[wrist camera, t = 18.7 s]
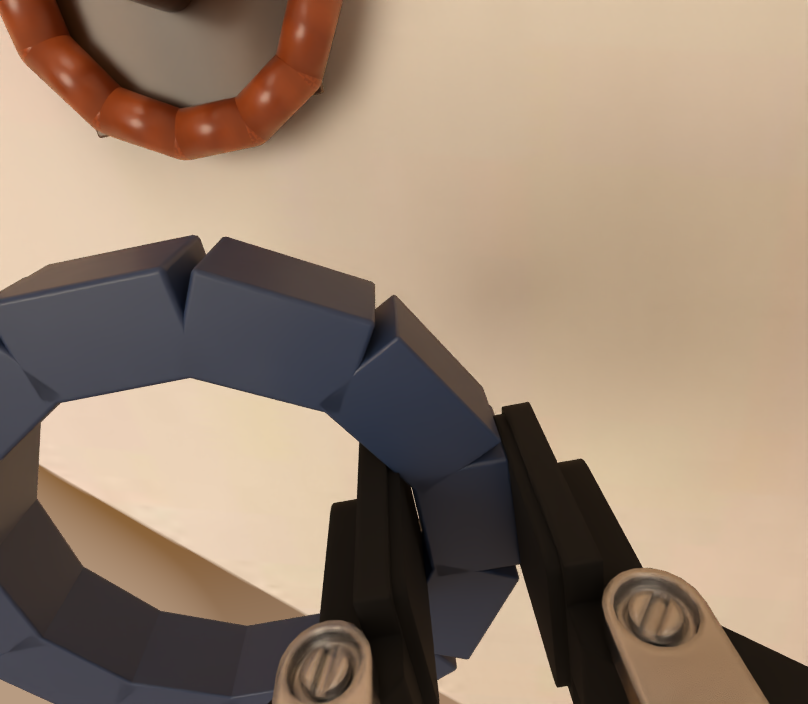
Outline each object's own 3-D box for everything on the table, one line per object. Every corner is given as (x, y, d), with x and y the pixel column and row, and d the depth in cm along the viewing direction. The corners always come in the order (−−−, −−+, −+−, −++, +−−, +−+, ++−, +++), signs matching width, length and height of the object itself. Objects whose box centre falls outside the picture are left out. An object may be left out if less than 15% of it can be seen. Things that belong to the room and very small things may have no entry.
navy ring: (460, 179, 9) (479, 202, 7) (521, 624, 14) (540, 695, 13) (-198, 313, 9) (-316, 363, 8) (101, 694, 15) (68, 770, 13)
